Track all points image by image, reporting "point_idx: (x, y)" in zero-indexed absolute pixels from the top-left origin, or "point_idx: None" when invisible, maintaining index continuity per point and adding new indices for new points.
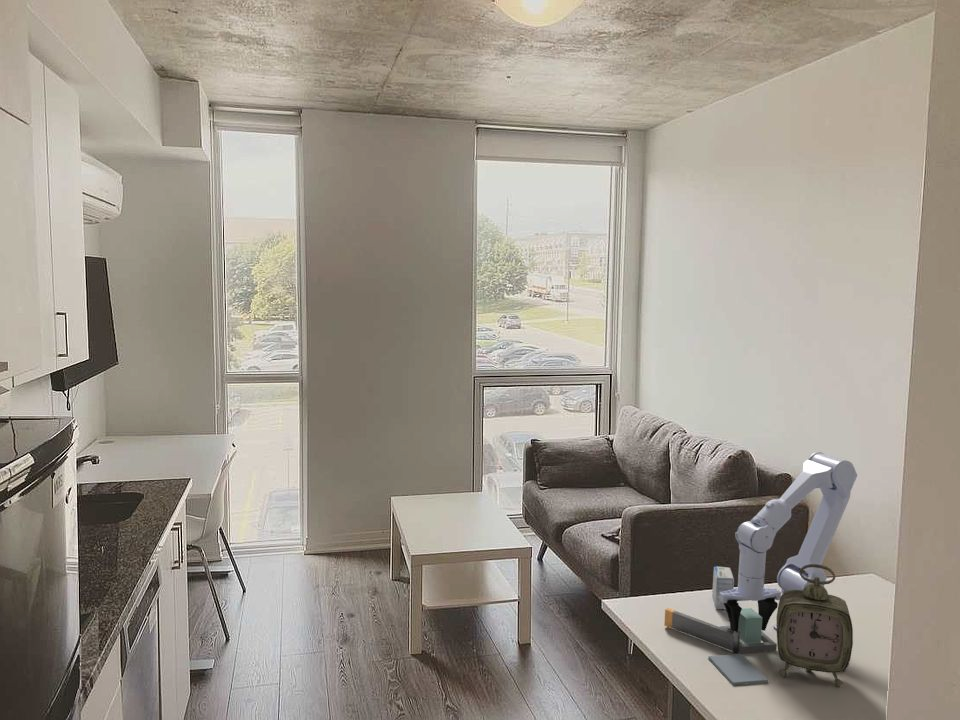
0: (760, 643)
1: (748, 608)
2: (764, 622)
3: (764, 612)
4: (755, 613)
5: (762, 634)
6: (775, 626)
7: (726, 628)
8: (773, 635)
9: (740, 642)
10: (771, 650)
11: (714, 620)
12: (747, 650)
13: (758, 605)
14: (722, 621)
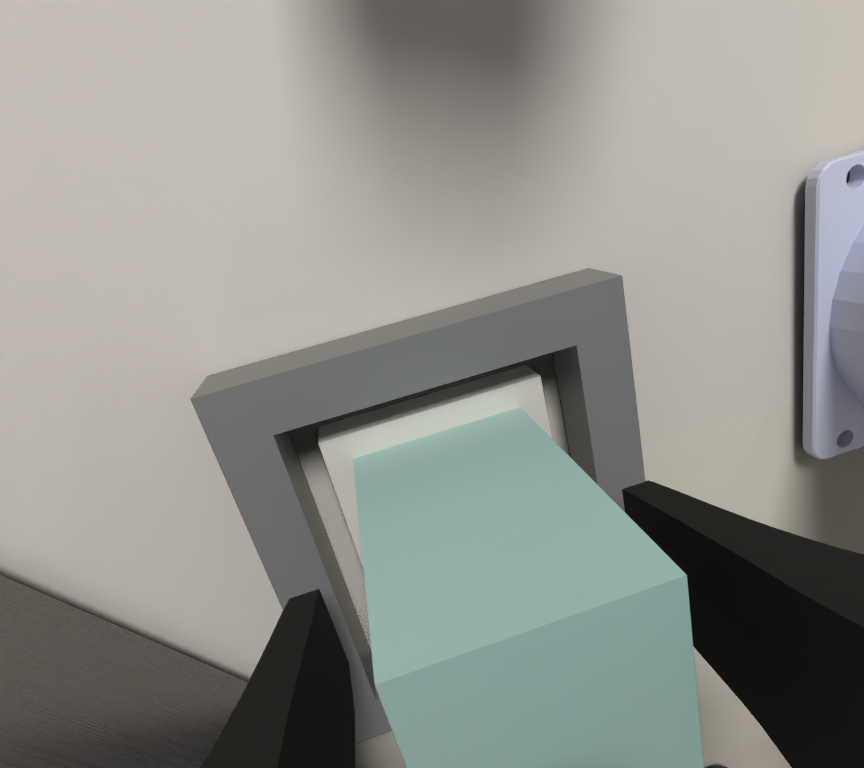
0: None
1: (630, 597)
2: (702, 649)
3: (813, 747)
4: (668, 738)
5: (616, 493)
6: (826, 208)
7: (272, 433)
8: (724, 347)
9: (361, 681)
10: None
11: (183, 36)
12: None
13: (853, 628)
14: (290, 61)
